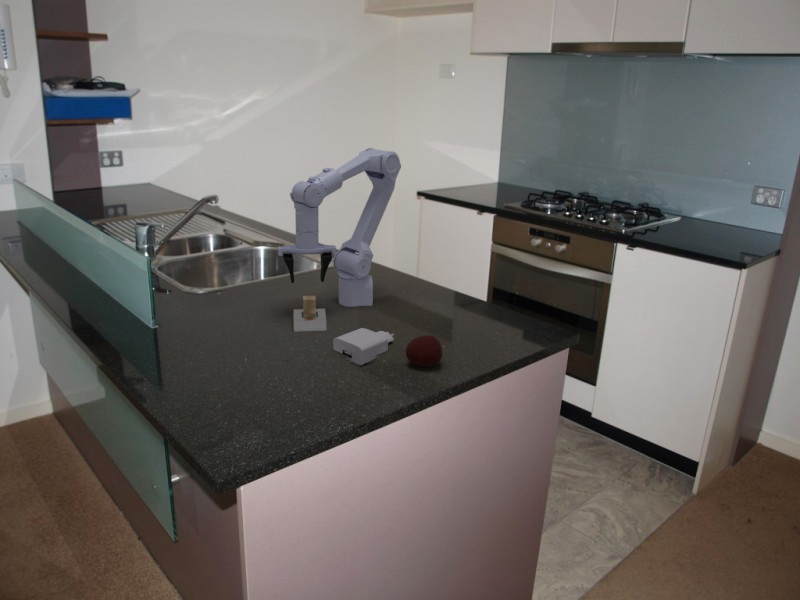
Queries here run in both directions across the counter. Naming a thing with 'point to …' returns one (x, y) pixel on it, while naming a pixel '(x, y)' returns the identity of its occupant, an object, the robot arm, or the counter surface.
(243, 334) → the counter surface
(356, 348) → the charger
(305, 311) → the post
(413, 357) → the potato
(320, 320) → the stand
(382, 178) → the robot arm
